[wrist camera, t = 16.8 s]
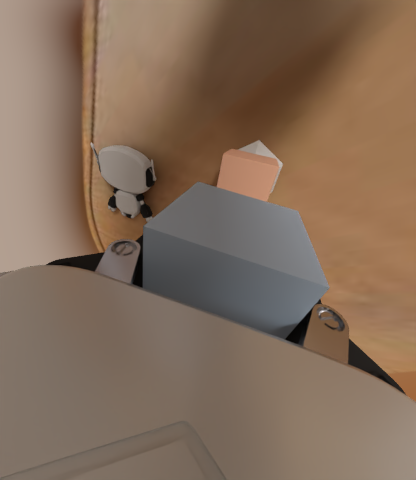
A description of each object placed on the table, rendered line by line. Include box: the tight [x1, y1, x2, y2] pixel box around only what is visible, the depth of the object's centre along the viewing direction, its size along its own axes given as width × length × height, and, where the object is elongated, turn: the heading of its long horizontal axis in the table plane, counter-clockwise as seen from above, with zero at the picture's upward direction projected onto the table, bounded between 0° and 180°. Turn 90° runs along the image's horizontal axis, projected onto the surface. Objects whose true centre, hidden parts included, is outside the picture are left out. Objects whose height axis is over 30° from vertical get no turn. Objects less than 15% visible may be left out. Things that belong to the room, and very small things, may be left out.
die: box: [238, 140, 283, 193], centre depth 29 cm, size 8×9×10 cm
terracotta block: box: [217, 149, 280, 202], centre depth 23 cm, size 6×6×6 cm
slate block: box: [143, 182, 329, 339], centre depth 10 cm, size 6×6×6 cm
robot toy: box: [91, 143, 156, 222], centre depth 38 cm, size 12×4×15 cm
